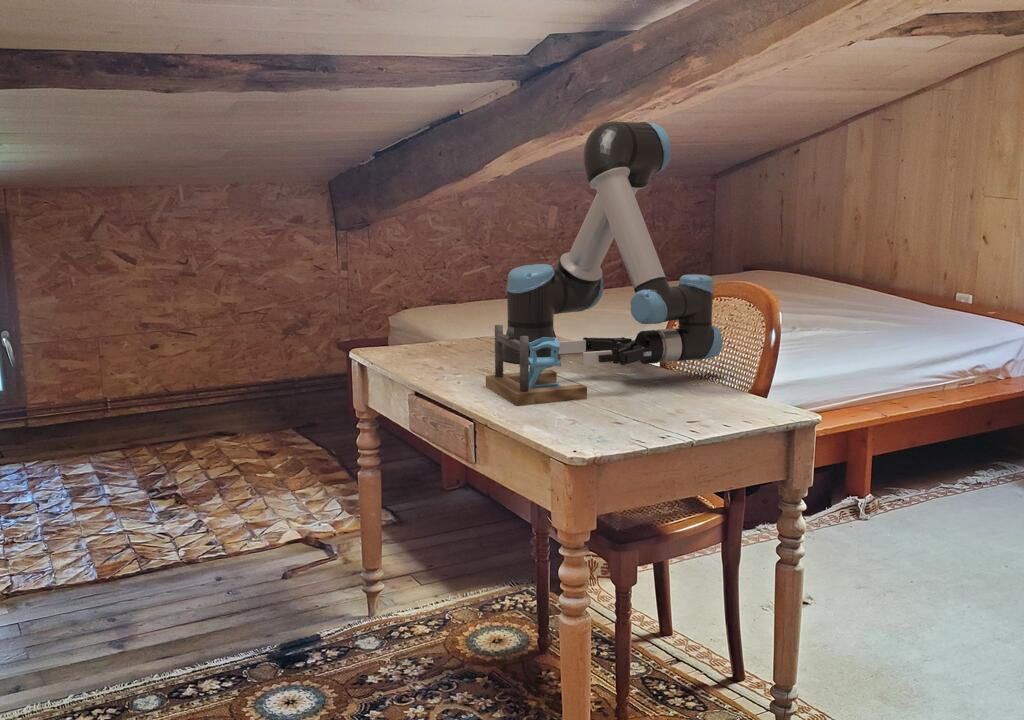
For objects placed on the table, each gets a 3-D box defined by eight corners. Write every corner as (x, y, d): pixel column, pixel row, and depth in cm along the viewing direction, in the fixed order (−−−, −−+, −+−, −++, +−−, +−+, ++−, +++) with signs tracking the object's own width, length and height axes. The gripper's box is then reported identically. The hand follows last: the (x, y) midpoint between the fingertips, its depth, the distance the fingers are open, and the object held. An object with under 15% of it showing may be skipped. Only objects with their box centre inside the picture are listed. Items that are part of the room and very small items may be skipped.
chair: (522, 388, 220) (522, 335, 218) (559, 387, 221) (559, 334, 219) (527, 396, 213) (527, 341, 210) (565, 395, 214) (565, 340, 211)
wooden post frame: (551, 380, 228) (551, 317, 225) (586, 398, 210) (587, 330, 207) (485, 386, 222) (485, 322, 219) (516, 405, 205) (516, 336, 202)
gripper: (684, 373, 214) (594, 381, 207) (631, 352, 237) (549, 359, 230) (685, 339, 212) (594, 346, 205) (632, 321, 235) (549, 327, 228)
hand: (570, 353), depth 217 cm, fingers open, 13 cm apart
